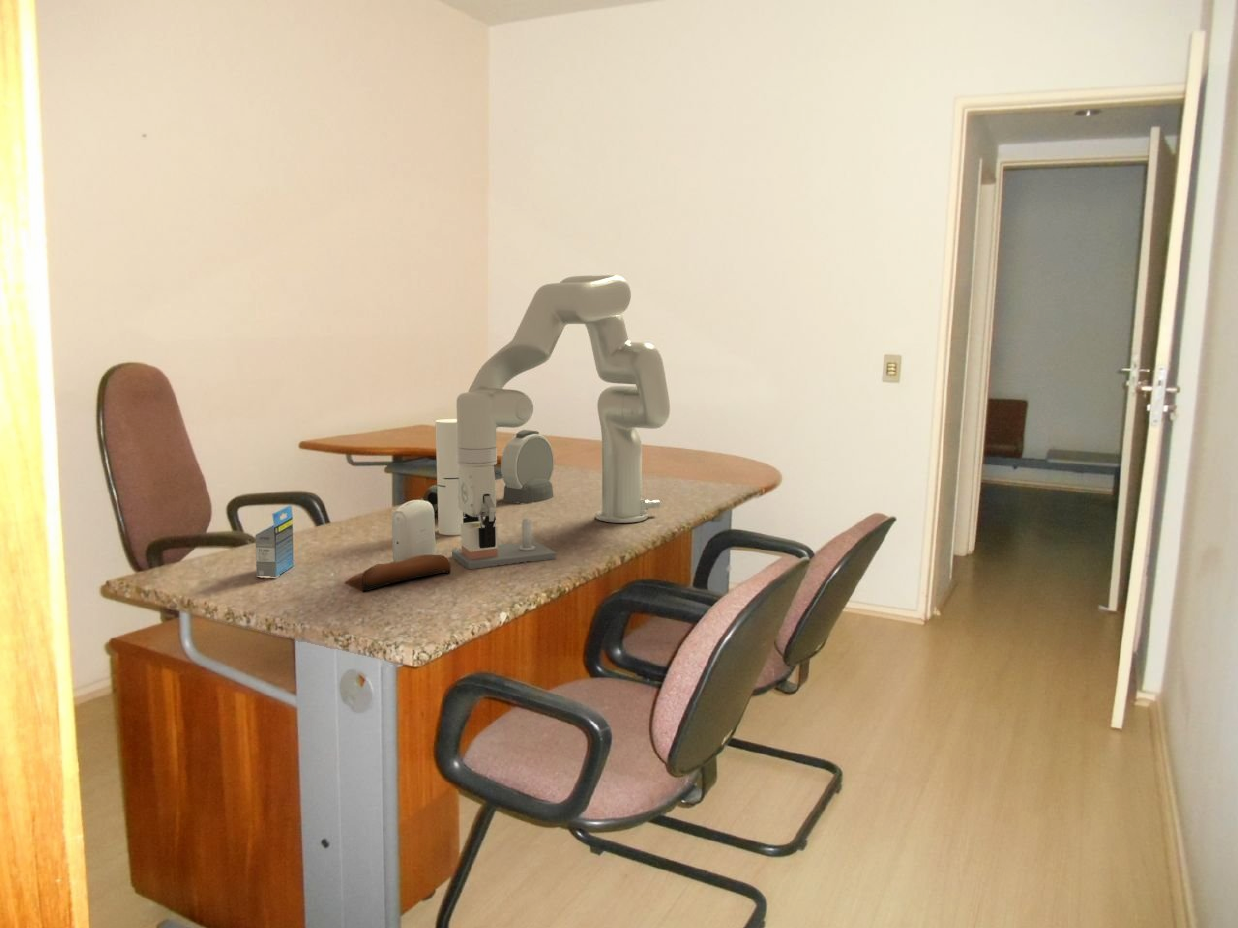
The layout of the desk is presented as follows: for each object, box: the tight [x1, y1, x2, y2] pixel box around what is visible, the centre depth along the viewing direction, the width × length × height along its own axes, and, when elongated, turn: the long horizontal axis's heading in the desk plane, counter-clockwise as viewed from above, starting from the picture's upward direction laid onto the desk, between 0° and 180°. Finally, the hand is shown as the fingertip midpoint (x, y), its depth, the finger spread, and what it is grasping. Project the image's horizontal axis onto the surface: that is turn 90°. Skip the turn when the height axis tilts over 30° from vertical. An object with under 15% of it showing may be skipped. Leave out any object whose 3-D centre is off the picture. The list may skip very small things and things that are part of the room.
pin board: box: [451, 517, 557, 570], centre depth 184 cm, size 18×11×8 cm, turn 117°
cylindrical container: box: [434, 418, 466, 536], centre depth 205 cm, size 7×7×25 cm
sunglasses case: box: [344, 554, 452, 593], centre depth 169 cm, size 18×7×7 cm
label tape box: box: [254, 504, 295, 577], centre depth 173 cm, size 9×4×12 cm, turn 178°
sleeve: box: [460, 521, 499, 559], centre depth 182 cm, size 6×6×6 cm
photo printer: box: [391, 499, 436, 562], centre depth 179 cm, size 10×4×12 cm, turn 158°
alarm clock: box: [500, 429, 555, 504], centre depth 244 cm, size 16×10×18 cm, turn 144°
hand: (479, 541), depth 182 cm, fingers open, 9 cm apart
